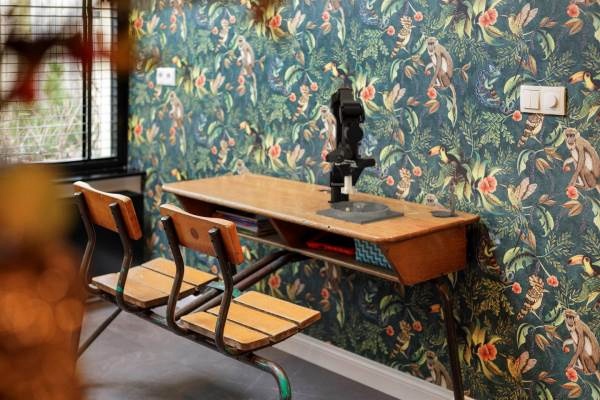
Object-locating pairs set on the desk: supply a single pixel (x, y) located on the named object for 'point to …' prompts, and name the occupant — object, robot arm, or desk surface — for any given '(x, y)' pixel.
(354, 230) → the desk surface
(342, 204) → the grey flat ring
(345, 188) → the gear
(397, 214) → the tray
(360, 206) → the sun gear
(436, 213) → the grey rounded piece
